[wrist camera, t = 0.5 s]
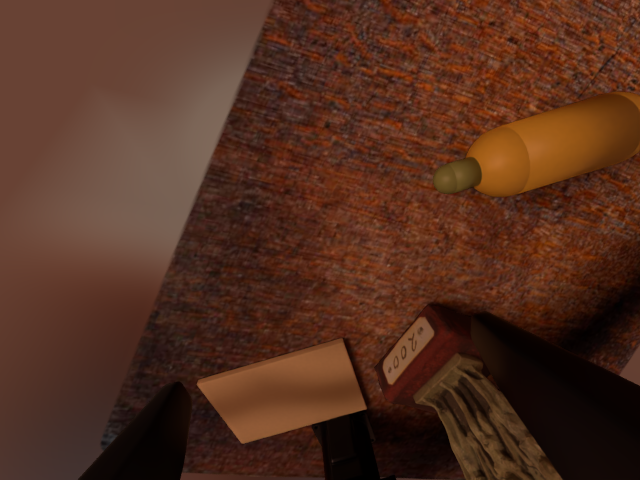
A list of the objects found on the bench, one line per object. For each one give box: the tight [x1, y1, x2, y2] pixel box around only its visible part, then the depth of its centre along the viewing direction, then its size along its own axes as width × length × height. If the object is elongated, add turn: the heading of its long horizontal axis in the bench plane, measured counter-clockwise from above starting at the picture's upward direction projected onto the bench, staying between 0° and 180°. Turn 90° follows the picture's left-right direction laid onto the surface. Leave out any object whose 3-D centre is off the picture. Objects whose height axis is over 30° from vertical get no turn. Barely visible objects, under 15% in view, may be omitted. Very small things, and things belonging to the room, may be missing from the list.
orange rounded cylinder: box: [433, 92, 640, 197], centre depth 18 cm, size 14×5×5 cm, turn 106°
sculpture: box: [374, 304, 563, 480], centre depth 22 cm, size 10×8×15 cm
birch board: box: [197, 338, 367, 444], centre depth 29 cm, size 11×15×1 cm
